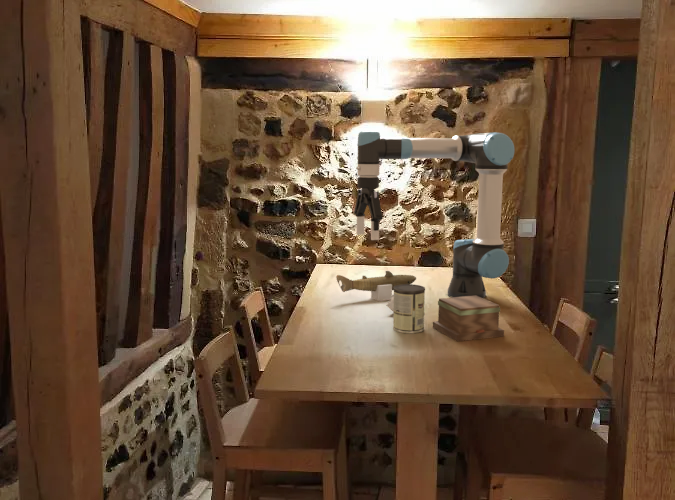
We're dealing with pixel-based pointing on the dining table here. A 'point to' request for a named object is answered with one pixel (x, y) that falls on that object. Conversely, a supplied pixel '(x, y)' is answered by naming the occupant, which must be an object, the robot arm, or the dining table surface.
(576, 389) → the dining table surface
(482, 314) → the stand
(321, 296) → the dining table surface
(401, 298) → the coffee can
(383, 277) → the wood carving
